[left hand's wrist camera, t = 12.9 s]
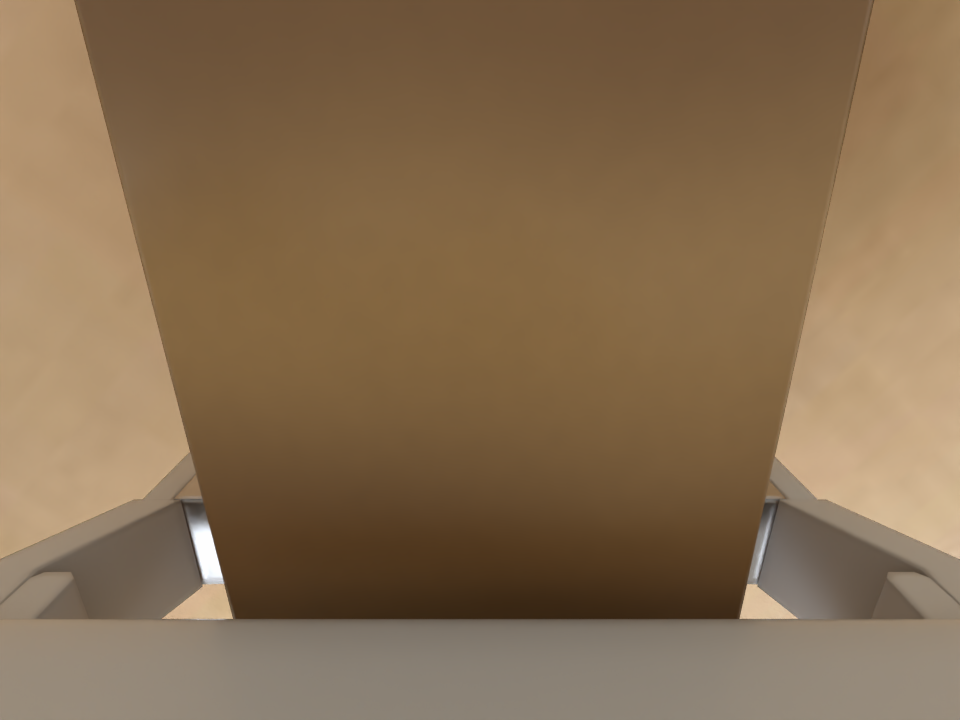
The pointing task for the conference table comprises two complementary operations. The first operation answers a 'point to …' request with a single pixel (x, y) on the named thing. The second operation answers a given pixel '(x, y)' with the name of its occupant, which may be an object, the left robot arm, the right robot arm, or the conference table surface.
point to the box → (479, 286)
